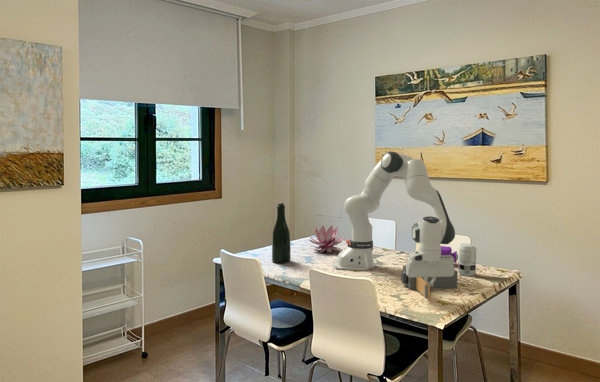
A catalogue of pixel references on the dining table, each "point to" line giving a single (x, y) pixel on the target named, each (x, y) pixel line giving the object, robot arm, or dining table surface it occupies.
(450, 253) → the toy camera
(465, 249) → the supplement can
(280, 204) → the beer bottle
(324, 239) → the decorative flower
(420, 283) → the side door
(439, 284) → the grey cabinet
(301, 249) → the dining table surface
